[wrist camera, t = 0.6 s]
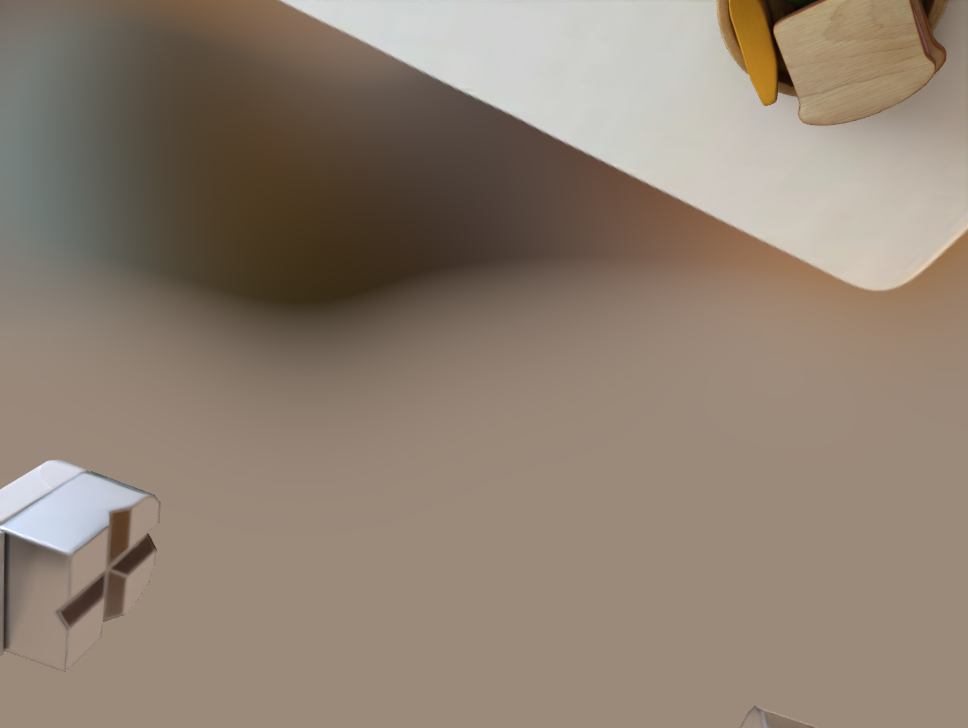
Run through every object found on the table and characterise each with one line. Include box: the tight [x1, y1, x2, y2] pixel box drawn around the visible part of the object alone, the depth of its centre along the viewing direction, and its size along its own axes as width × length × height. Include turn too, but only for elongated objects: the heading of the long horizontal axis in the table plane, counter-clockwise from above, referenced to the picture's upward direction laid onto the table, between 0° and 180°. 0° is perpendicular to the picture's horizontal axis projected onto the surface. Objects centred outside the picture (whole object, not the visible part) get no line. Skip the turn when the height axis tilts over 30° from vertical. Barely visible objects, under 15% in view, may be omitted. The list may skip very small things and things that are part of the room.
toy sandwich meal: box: [717, 0, 948, 125], centre depth 45 cm, size 12×14×5 cm
